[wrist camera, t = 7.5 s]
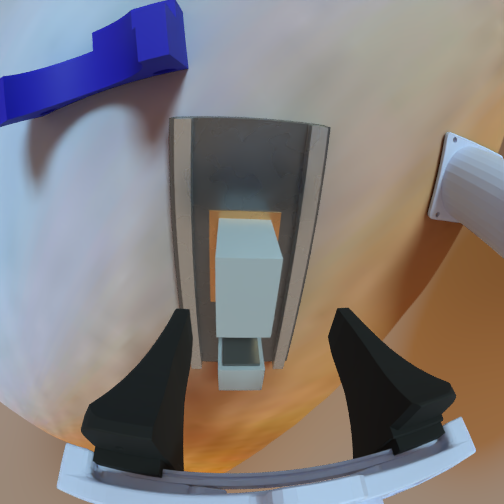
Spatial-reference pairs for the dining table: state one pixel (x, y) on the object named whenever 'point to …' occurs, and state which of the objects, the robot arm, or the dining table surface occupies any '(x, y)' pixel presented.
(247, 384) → the small hollow grey box
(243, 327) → the pale grey block
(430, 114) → the dining table surface
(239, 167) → the rail
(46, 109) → the cable clip
